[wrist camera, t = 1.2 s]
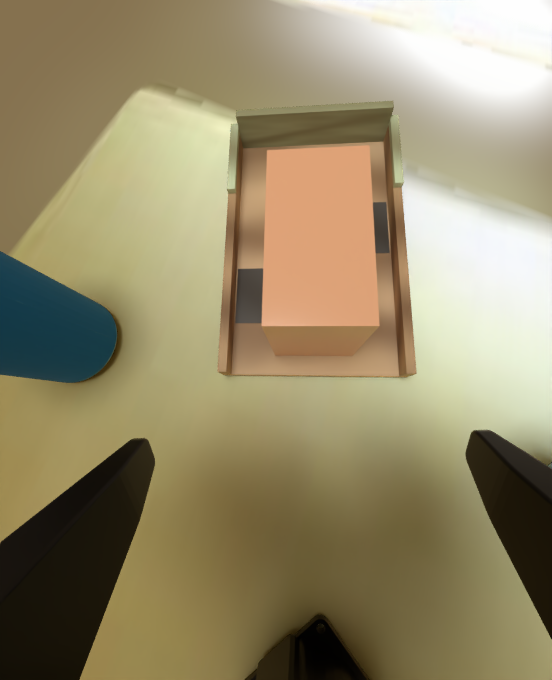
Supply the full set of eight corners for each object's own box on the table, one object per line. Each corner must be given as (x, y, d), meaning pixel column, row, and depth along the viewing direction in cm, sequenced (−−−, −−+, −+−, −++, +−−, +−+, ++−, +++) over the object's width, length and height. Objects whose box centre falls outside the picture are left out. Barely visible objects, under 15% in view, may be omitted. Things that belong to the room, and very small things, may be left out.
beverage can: (77, 290, 26) (-108, 189, 14) (138, 327, 25) (-8, 251, 13) (28, 357, 25) (-215, 308, 13) (89, 399, 24) (-118, 387, 12)
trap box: (405, 377, 22) (424, 370, 19) (224, 375, 23) (211, 368, 20) (388, 140, 27) (401, 100, 23) (237, 147, 28) (228, 110, 24)
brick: (352, 356, 22) (379, 325, 14) (275, 355, 23) (261, 326, 15) (347, 229, 24) (369, 145, 17) (277, 231, 25) (267, 149, 17)
